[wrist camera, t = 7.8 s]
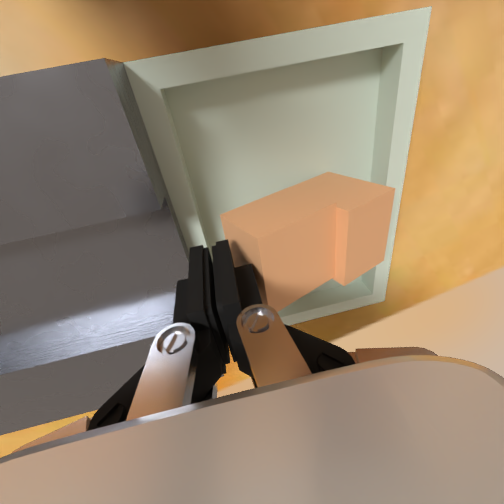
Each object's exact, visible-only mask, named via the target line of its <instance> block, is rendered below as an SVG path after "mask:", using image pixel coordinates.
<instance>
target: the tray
mask: <svg viewBox="0 0 504 504" xmlns="http://www.w3.org/2000/svg"><path fill="white" fill-rule="evenodd" d="M431 9H432V6H430V7H425V8H419V9H414V10H408V11H403V12H398V13H392V14H387V15H381V16H376V17H370V18H365V19H359V20H354V21H348V22H343V23H337V24H332V25H326V26H321V27H315V28H310V29H304V30H299V31H293V32H288V33H283V34H277V35H272V36H266V37H261V38H255V39H250V40H244V41H239V42H233V43H228V44H222V45H217V46H211V47H206V48H200V49H195V50H189V51H184V52H179V53H173V54H168V55H162V56H157V57H151V58H146V59H140V60H135V61H129V62H124V63H123V64H124V67H125V70H126V73H127V76H128V78H129V81H130V84H131V87H132V90H133V93H134V96H135V99H136V101H137V104H138V107H139V110H140V113H141V116H142V119H143V122H144V124H145V127H146V130H147V133H148V136H149V139H150V142H151V145H152V148H153V150H154V153H155V156H156V159H157V162H158V165H159V168H160V171H161V173H162V176H163V179H164V182H165V185H166V188H167V191H168V194H169V196H170V199H171V202H172V205H173V208H174V211H175V214H176V217H177V219H178V222H179V225H180V228H181V231H182V234H183V237H184V240H185V242H186V245H187V248H188V251H189V252H190V247H195V246H199V245H203V247H204V248H206V247H208V248H209V251H210V255H211V258H212V246H215V245H216V242H218V241H222V240H226V239H225V235H224V231H223V226H222V222H221V218H220V214H223V213H225V212H228V211H230V210H233V209H235V208H238V207H240V206H243V205H245V204H248V203H250V202H253V201H255V200H258V199H260V198H263V197H265V196H268V195H270V194H273V193H275V192H278V191H280V190H283V189H285V188H288V187H291V186H294V185H296V184H299V183H301V182H304V181H306V180H309V179H311V178H314V177H316V176H319V175H321V174H324V173H326V172H332V173H336V174H340V175H344V176H348V177H352V178H356V179H360V180H364V181H368V182H372V183H376V184H380V185H384V186H388V187H392V188H395V195H394V201H393V207H392V213H391V220H390V226H389V232H388V238H387V245H386V251H385V257H384V261H382V262H381V263H379V264H378V265H376V266H375V267H373V268H372V269H370V270H369V271H367V272H365V273H364V274H362V275H361V276H359V277H358V278H356V279H355V280H353V281H352V282H350V283H349V284H347V285H345V286H343V285H341V284H340V283H338V282H337V281H335V280H333V279H330V280H329V281H327V282H325V283H324V284H322V285H321V286H319V287H317V288H316V289H314V290H312V291H311V292H309V293H308V294H306V295H304V296H303V297H301V298H299V299H298V300H296V301H295V302H293V303H291V304H290V305H288V306H286V307H285V308H283V309H282V310H280V311H278V312H277V313H278V315H279V316H280V318H281V320H282V322H283V323H284V324H286V325H288V326H289V325H293V324H297V323H301V322H305V321H309V320H312V319H316V318H320V317H324V316H328V315H332V314H336V313H340V312H344V311H348V310H351V309H355V308H359V307H363V306H367V305H371V304H375V303H379V302H383V301H385V295H386V289H387V282H388V276H389V270H390V264H391V257H392V251H393V245H394V239H395V233H396V226H397V220H398V214H399V208H400V201H401V195H402V189H403V183H404V177H405V170H406V164H407V158H408V152H409V145H410V139H411V133H412V127H413V121H414V114H415V108H416V102H417V96H418V90H419V83H420V77H421V71H422V65H423V58H424V52H425V46H426V40H427V34H428V27H429V21H430V15H431ZM212 261H213V258H212Z"/></svg>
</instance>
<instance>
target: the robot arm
mask: <svg viewBox="0 0 504 504" xmlns="http://www.w3.org/2000/svg"><path fill="white" fill-rule="evenodd" d="M212 258H213V261H212ZM212 258H211V255H210V251H209V248H208V247H206V248H204V247H203V245H199V246H195V247H190V252H189V271H188V278H187V279H182V280H178V281H177V287H176V297H175V306H174V316H173V324H171V325H169V326H167V327H165V328H164V329H163V330H161V331H160V332H159V333H158V334H157V335H156V337H155V339H154V341H153V343H152V346H151V349H150V352H149V354H148V357H147V360H146V363H145V365H144V366H143V367H141V368H140V369H139V370H138V371H137V372H136V373H135V374H134V375H133V376H132V377H131V378H130V379H129V380H128V381H127V382H126V383H125V384H124V385H123V386H122V387H121V388H120V389H119V390H118V391H117V392H116V393H115V394H113V395H112V396H111V397H110V398H109V399H108V400H107V401H106V402H105V403H104V404H103V405H102V406H101V407H100V408H99V409H98V411H97V412H96V413H95V414H94V416H93V417H92V418H89V417H88V416H86V417H83V418H81V419H79V420H77V421H75V422H73V423H71V424H68V425H66V426H64V427H62V428H60V429H58V430H56V431H53V432H51V433H49V434H47V435H45V436H43V437H41V438H38V439H36V440H34V441H32V442H30V443H28V444H25V445H23V446H21V447H20V448H18V449H17V450H15V451H13V452H12V453H11V454H9V455H7V456H4V457H2V458H0V504H504V378H503V377H502V376H500V375H499V374H497V373H495V372H493V371H492V370H490V369H488V368H486V367H484V366H481V365H478V364H476V363H473V362H469V361H465V360H461V359H456V358H451V357H442V356H438V355H436V354H435V353H434V352H432V351H430V350H427V349H425V348H419V347H400V348H368V349H367V348H366V349H356V352H347V351H345V350H344V349H342V348H340V347H338V346H336V345H333V344H331V343H328V342H326V341H324V340H321V339H319V338H317V337H314V336H312V335H309V334H307V333H305V332H302V331H300V330H298V329H295V328H293V327H290V326H288V325H286V324H284V323H283V322H282V320H281V318H280V316H279V315H278V313H277V312H276V310H275V309H274V308H272V307H271V306H269V305H265V304H263V303H262V300H261V296H260V293H259V289H258V286H257V282H256V279H255V275H254V272H253V268H252V265H251V264H248V265H244V266H239V267H235V266H234V262H233V258H232V254H231V250H230V246H229V241H228V239H227V240H222V241H218V242H216V245H215V246H212ZM228 345H229V347H228ZM229 348H230V351H231V354H232V357H233V360H234V362H237V363H238V367H239V370H240V371H242V372H244V373H245V374H247V375H249V376H250V377H251V379H252V382H253V385H254V389H250V390H246V391H242V392H238V393H234V394H230V395H226V396H222V397H219V398H217V384H216V382H217V381H218V379H219V378H220V377H221V376H222V374H225V373H226V365H225V364H228V363H230V356H229Z"/></svg>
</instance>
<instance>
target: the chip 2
mask: <svg viewBox="0 0 504 504" xmlns="http://www.w3.org/2000/svg"><path fill="white" fill-rule="evenodd" d="M291 187H293V188H296V189H299V190H302V191H305V192H308V193H311V194H314V195H317V196H320V197H323V198H326V199H329V200H332V201H335V202H336V242H335V277H334V278H332V279H333V280H335V281H337V282H338V283H340V284H341V285H343V286H345V285H347V284H349V283H350V282H352V281H353V280H355V279H356V278H358V277H359V276H361V275H362V274H364V273H365V272H367V271H369V270H370V269H372V268H373V267H375V266H376V265H378V264H379V263H381V262H382V261H384V257H385V251H386V245H387V238H388V232H389V226H390V220H391V213H392V207H393V201H394V195H395V188H392V187H388V186H384V185H380V184H376V183H372V182H368V181H364V180H360V179H356V178H352V177H348V176H344V175H340V174H336V173H332V172H326V173H324V174H321V175H319V176H316V177H314V178H311V179H309V180H306V181H304V182H301V183H299V184H296V185H294V186H291Z"/></svg>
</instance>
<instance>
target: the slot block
mask: <svg viewBox="0 0 504 504" xmlns="http://www.w3.org/2000/svg"><path fill="white" fill-rule="evenodd" d="M188 271H189V251H188V248H187V245H186V242H185V240H184V237H183V234H182V231H181V228H180V225H179V222H178V219H177V217H176V214H175V211H174V208H173V205H172V202H171V199H170V196H169V194H168V191H167V188H166V185H165V182H164V179H163V176H162V173H161V171H160V168H159V165H158V162H157V159H156V156H155V153H154V150H153V148H152V145H151V142H150V139H149V136H148V133H147V130H146V127H145V124H144V122H143V119H142V116H141V113H140V110H139V107H138V104H137V101H136V99H135V96H134V93H133V90H132V87H131V84H130V81H129V78H128V76H127V73H126V70H125V67H124V64H123V63H122V62H118V61H114V60H110V59H106V58H102V59H97V60H91V61H86V62H80V63H75V64H69V65H64V66H58V67H53V68H47V69H41V70H36V71H30V72H25V73H19V74H14V75H8V76H3V77H0V435H3V434H7V433H11V432H15V431H18V430H22V429H26V428H30V427H33V426H37V425H41V424H45V423H49V422H52V421H56V420H60V419H64V418H67V417H71V416H75V415H79V414H83V413H86V412H90V411H94V410H98V409H99V408H100V407H101V406H102V405H103V404H104V403H105V402H106V401H107V400H108V399H109V398H110V397H111V396H112V395H113V394H115V393H116V392H117V391H118V390H119V389H120V388H121V387H122V386H123V385H124V384H125V383H126V382H127V381H128V380H129V379H130V378H131V377H132V376H133V375H134V374H135V373H136V372H137V371H138V370H139V369H140V368H141V367H143V366H144V365H145V363H146V360H147V357H148V354H149V352H150V349H151V346H152V343H153V341H154V339H155V337H156V335H157V334H158V333H159V332H160V331H161V330H163V329H164V328H165V327H167V326H169V325H171V324H173V316H174V306H175V297H176V287H177V281H178V280H182V279H187V278H188ZM222 376H224V374H222ZM222 376H221V377H222Z"/></svg>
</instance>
